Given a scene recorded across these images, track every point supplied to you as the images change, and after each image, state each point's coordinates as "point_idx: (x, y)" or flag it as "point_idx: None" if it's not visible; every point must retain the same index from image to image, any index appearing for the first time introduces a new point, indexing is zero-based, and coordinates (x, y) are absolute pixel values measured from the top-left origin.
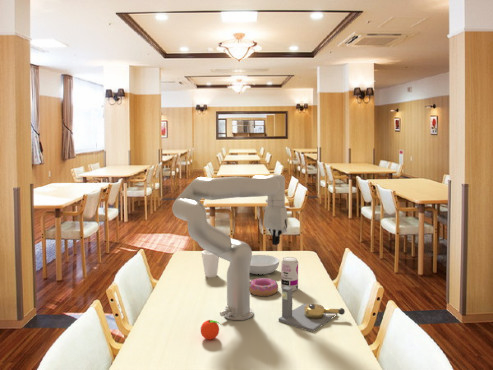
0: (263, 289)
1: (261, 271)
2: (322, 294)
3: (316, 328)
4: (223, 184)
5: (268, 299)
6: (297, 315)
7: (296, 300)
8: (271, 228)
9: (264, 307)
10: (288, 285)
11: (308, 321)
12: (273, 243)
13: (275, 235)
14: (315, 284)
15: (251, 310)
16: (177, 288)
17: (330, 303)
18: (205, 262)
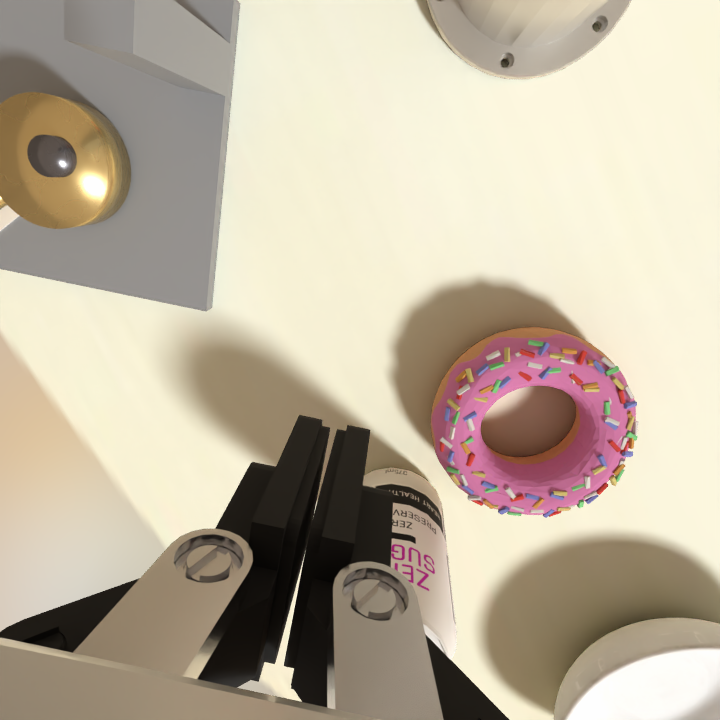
0: (495, 347)
1: (629, 630)
2: (202, 499)
3: None
4: None
5: (442, 309)
6: (156, 111)
7: (287, 366)
8: (292, 711)
9: (414, 175)
10: (379, 485)
11: (58, 54)
12: (343, 435)
13: (251, 551)
14: (293, 608)
15: (455, 30)
16: None
17: (113, 403)
18: None
